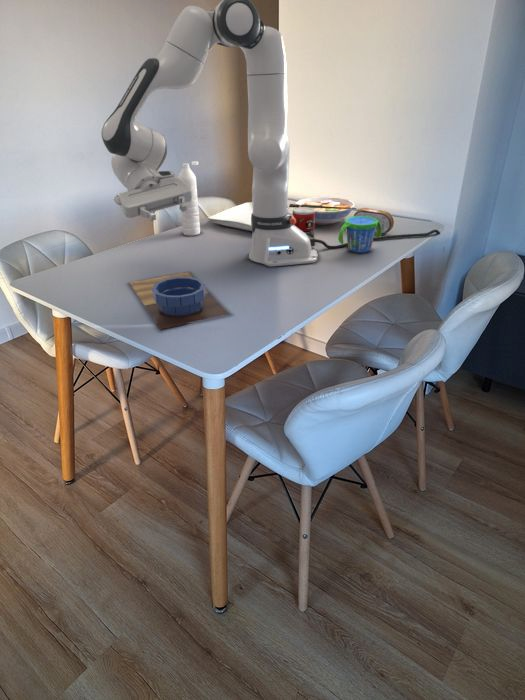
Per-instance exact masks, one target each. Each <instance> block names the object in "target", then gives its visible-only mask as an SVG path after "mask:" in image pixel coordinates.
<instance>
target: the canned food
mask: <svg viewBox="0 0 525 700" xmlns="http://www.w3.org/2000/svg"><path fill="white" fill-rule="evenodd" d="M292 209H293V216H294V218H295V219H296V223H295V226H296V227H297V228H299V229H300V230H301V231H303V232H304V233H306V234H307V235H309V236H311V237H313V238H315V224H316V223H315V210H314V209H313V208H310V207H293V208H292Z"/></svg>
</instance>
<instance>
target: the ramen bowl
mask: <svg viewBox="0 0 525 700" xmlns="http://www.w3.org/2000/svg"><path fill="white" fill-rule="evenodd" d="M355 206H356V205H355V203H354V201H352V200H350V199H346V198H341V197H335V196H313V197H306V198H302V199H299V200H298V201H296V202H295V203H290V204H288V208H297V207H310V208H313V209H314V210H315V223H314V224H315V225H319V226H331V225H333V224H335V223H338V222H340V221H342V220H344V219H346V217H347V216H348V215H350V213H351V212H352V211H353V210H357V207H355Z"/></svg>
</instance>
